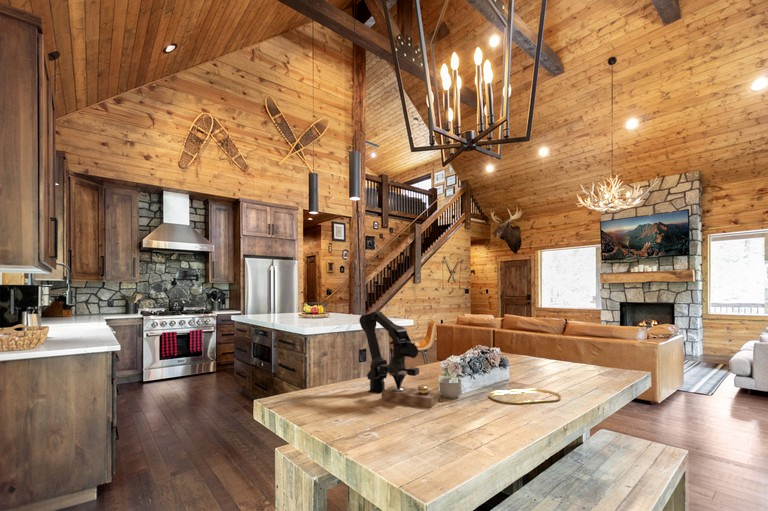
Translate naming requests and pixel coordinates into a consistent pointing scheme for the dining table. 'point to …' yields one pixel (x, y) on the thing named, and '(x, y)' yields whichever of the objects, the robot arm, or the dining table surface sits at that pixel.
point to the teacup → (450, 388)
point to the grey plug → (399, 389)
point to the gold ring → (523, 391)
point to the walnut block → (411, 397)
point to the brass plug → (422, 389)
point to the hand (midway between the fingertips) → (398, 388)
